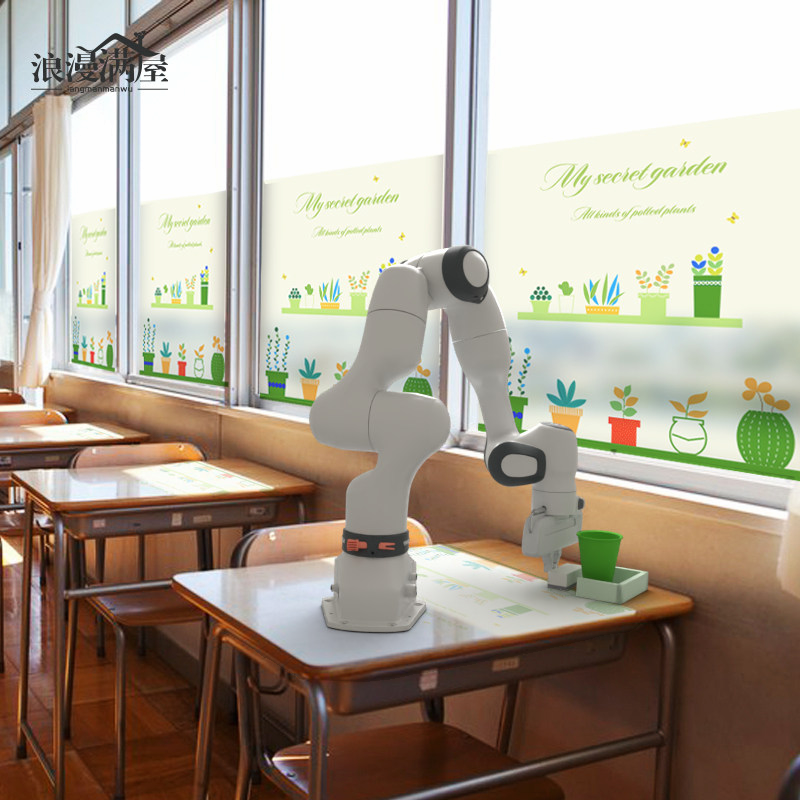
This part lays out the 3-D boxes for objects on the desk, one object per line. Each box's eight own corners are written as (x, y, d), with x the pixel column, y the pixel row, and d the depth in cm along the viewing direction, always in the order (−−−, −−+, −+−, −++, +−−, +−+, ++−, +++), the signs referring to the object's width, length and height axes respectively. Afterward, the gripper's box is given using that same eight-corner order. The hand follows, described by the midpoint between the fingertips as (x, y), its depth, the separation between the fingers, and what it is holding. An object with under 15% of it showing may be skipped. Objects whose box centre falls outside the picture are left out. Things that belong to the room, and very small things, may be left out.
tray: (620, 604, 195) (621, 585, 195) (576, 596, 200) (576, 578, 199) (647, 589, 206) (648, 571, 206) (604, 581, 211) (605, 564, 211)
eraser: (566, 592, 204) (566, 574, 203) (547, 588, 206) (548, 571, 205) (584, 583, 211) (585, 566, 211) (566, 579, 213) (566, 563, 213)
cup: (564, 588, 205) (566, 533, 204) (592, 581, 211) (594, 528, 210) (602, 598, 198) (604, 541, 198) (629, 591, 205) (632, 535, 204)
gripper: (544, 512, 199) (541, 584, 200) (588, 499, 216) (585, 565, 217) (515, 508, 202) (512, 578, 203) (560, 495, 219) (558, 560, 220)
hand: (550, 571), depth 210 cm, fingers closed
